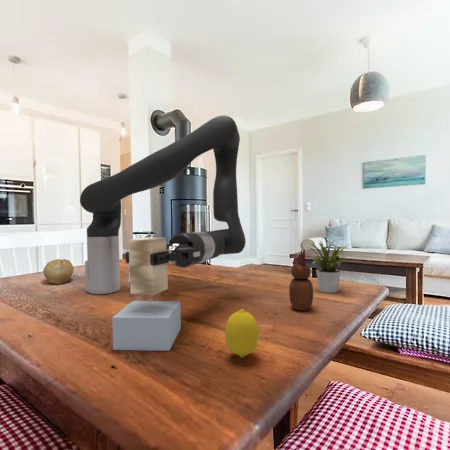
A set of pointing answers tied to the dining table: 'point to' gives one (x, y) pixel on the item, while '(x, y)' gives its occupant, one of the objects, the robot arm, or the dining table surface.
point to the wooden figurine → (301, 285)
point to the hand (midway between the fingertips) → (139, 258)
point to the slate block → (147, 325)
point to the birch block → (146, 266)
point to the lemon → (241, 333)
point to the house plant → (328, 268)
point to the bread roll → (58, 271)
